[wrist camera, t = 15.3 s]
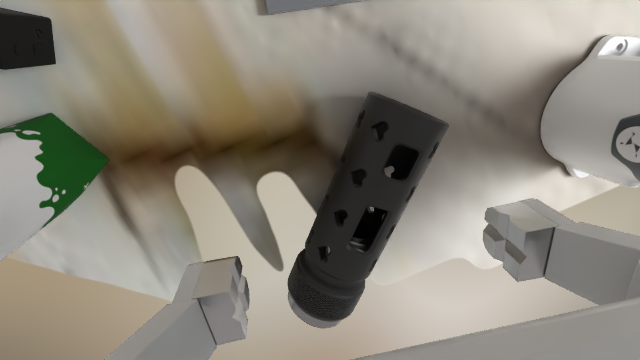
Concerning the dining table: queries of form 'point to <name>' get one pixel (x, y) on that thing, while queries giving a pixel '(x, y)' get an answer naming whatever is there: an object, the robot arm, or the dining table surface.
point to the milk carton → (40, 176)
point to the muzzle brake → (361, 208)
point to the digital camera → (25, 40)
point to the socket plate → (300, 4)
